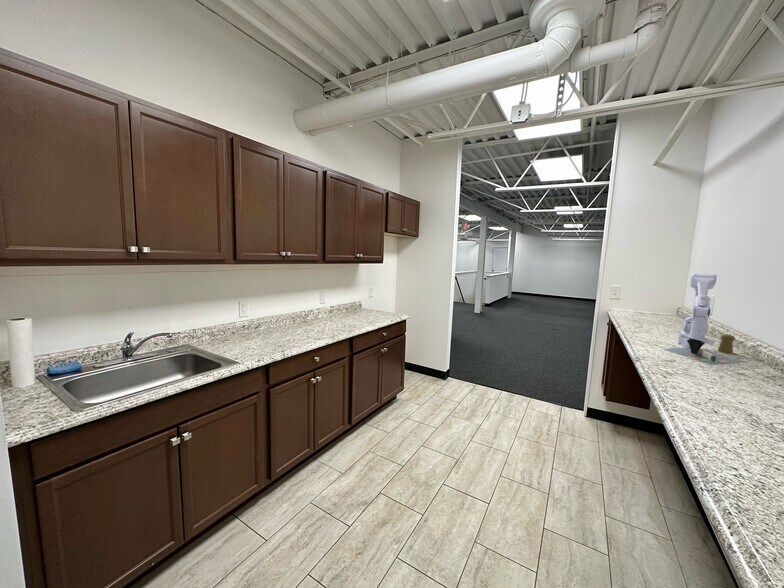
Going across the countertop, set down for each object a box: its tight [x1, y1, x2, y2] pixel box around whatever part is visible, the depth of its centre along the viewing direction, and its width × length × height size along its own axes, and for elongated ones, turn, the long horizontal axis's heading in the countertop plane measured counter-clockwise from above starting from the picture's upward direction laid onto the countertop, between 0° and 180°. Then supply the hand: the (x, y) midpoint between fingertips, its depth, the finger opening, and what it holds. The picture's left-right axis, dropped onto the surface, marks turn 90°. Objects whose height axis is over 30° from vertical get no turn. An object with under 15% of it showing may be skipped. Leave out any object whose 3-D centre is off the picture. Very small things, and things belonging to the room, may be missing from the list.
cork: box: [717, 333, 736, 354], centre depth 170 cm, size 6×6×11 cm
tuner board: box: [662, 347, 749, 366], centre depth 164 cm, size 24×23×1 cm
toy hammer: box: [697, 346, 716, 361], centre depth 161 cm, size 14×6×4 cm, turn 162°
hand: (694, 353), depth 163 cm, fingers closed
